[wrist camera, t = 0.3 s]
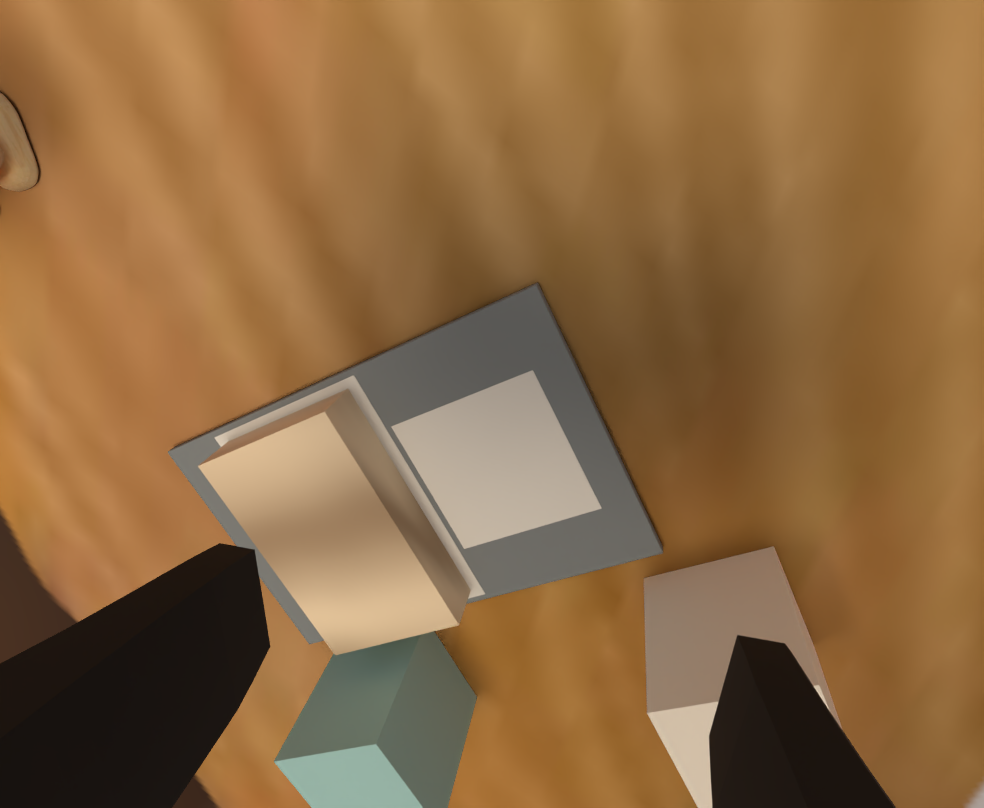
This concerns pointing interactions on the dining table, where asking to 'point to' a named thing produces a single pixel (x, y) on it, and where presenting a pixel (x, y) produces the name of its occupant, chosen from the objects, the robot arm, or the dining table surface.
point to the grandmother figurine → (15, 151)
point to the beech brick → (339, 526)
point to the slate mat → (479, 452)
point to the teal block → (382, 728)
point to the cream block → (713, 648)
